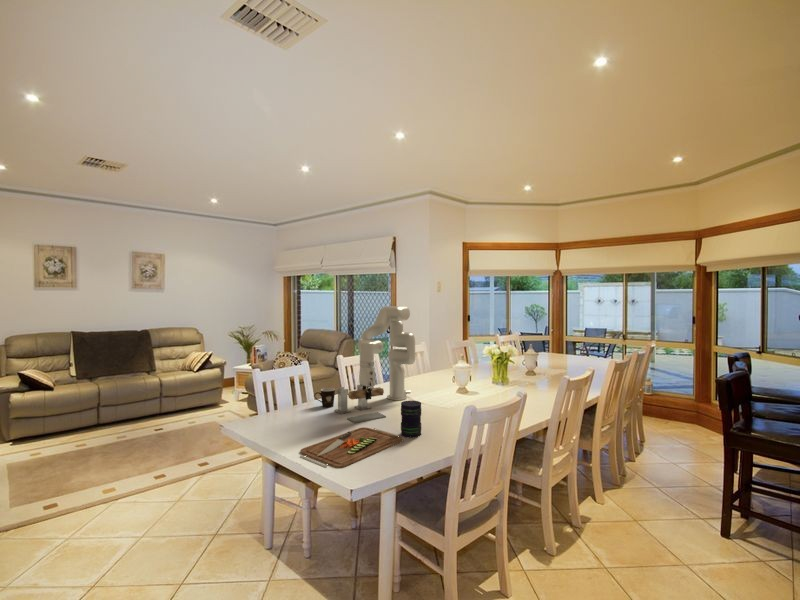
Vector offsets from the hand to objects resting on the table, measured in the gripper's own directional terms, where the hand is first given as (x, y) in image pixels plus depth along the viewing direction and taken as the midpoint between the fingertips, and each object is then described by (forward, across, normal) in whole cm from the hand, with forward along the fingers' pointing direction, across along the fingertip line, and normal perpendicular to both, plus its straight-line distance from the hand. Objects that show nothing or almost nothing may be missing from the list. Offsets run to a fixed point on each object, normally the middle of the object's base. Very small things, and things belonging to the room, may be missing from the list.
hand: (366, 398), depth 220 cm
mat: (+11, 0, 0) cm, 11 cm away
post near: (+11, +18, +5) cm, 22 cm away
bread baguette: (-1, 0, 0) cm, 1 cm away
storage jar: (+11, -34, -6) cm, 36 cm away
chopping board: (+12, -32, +24) cm, 42 cm away
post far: (+11, +18, -8) cm, 23 cm away
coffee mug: (+11, +34, +8) cm, 37 cm away
